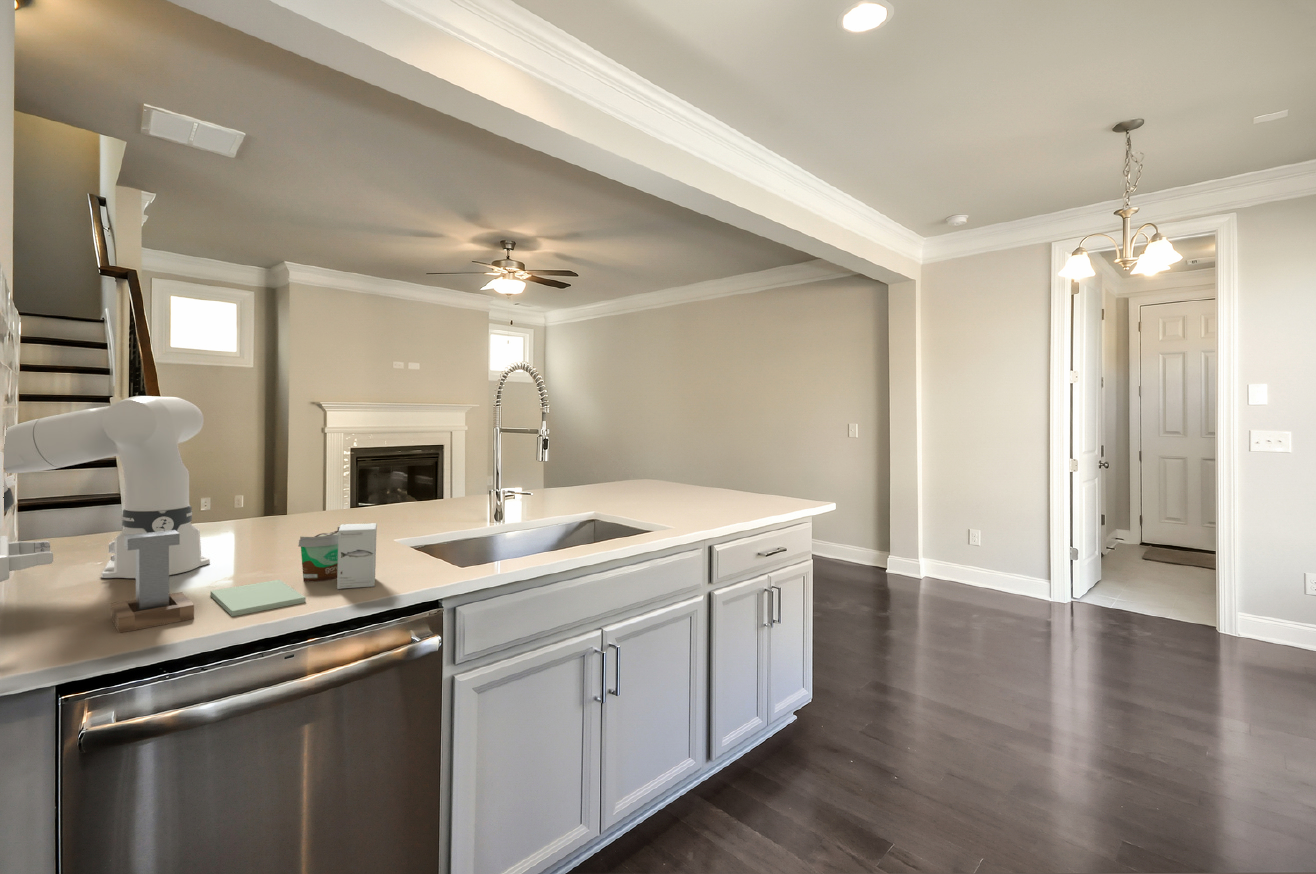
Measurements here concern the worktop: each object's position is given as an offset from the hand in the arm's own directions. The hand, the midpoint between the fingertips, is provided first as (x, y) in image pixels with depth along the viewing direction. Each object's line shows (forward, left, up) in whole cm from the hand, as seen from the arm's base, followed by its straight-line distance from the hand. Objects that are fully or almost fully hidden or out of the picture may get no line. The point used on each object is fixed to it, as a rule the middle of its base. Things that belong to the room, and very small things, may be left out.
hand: (51, 551), depth 97 cm
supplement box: (+1, +47, -14) cm, 49 cm away
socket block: (-1, +13, -14) cm, 19 cm away
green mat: (-1, +29, -14) cm, 32 cm away
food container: (-8, +45, -14) cm, 47 cm away
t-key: (-1, +13, -14) cm, 19 cm away
